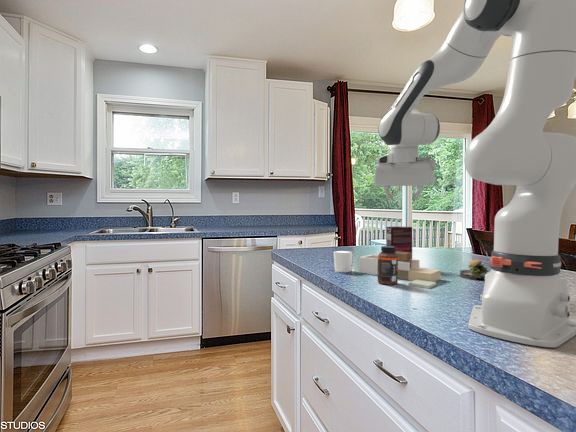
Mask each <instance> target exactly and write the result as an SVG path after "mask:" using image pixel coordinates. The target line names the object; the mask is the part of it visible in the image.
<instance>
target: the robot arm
mask: <svg viewBox="0 0 576 432" xmlns="http://www.w3.org/2000/svg"><path fill="white" fill-rule="evenodd" d="M462 8H463V9H462V12H461V13H460V15H459V16H458V17H457V19H456V20H455V21H454V24H453V25H452V27H451V29H450V31H449V32H448V34H447V36H446V37H445V40H444V41H443V43H442V45H441V46H440V47H439V49H438V50H437V51H436V52H435V53H434V54H432V56H431V57H429V59H426V61H424V62H422V63H421V64H420V65H419V66H418V67H417V68H416V70H415V71H414V72H413V74H412V75H411V77H410V78H409V79H408V81H407V82H406V84H405V86H404V88H403V89H402V90H401V92H400V94H399V95H398V96H397V98H396V100H395V101H394V102H393V104H392V105H391V107H390V108H389V109H388V110H387V112H385V114H383V116H382V118H380V121H379V123H378V126H377V127H378V129H377V131H378V135H379V138H380V139H381V140H382V141H383V143H385V144H386V145H387V146H391V147H390V152H389V153H387V154H384V155H382V156H380V157H378V158H377V159H376V164H377V166H376V167H375V168H374V169H375V170H374V178H373V183H374V185H375V186H376V187H377V186H378V187H383V190H384V192H385V194H386V200H393V199H394V194H393V193H391V191H390V190H391V186H392V187H403V186H404V187H410V186H411V187H412V186H413V187H416V190H417V192H415V194H412V196H413V197H412V200H415V201H420V197H421V196H420V195H421V194H422V192H423V191H424V187H428V186H429V187H430V186H434V185H435V183H436V173H435V168H436V160H435V159H434V158H433V157H431V156H425V157H423V156H422V157H421V156H420V157H419V146H427V145H428V146H429V145H431V144H433V143H434V142H435V141H436V140H437V139H438V138H439V135H440V132H441V124H440V121H439V118H438V117H437V116H436V115H434V114H431V113H426V112H421V111H419V109H417V108H416V106H417V105H418V103H419V102H420V100H421V99H422V98H423V97H424V96H425V95H426V94H427V93H429V92H431V91H433V90H435V89H438V88H440V87H441V88H442V87H446V86H449V85H454V84H458V83H461V82H464V81H466V80H468V79H470V78H472V76H474V74H475V73H477V71H478V70H479V69H480V68H481V66H482V65H483V63H484V62H485V60H486V58H487V57H488V55H489V53H490V52H491V50H492V48H493V46H494V45H495V43H496V42H497V41H498V39H499V38H500V37H501V36H505V37H512V47H511V52H510V59H509V64H508V65H509V66H508V71H507V78H506V84H505V89H504V94H503V98H502V101H501V103H500V107H499V109H498V111H497V113H496V115H495V117H494V118H493V119H492V121H491V122H490V124H489V125H488V126H487V127H486V128H485V129H484V130H483V131H482V132H480V133H479V134H477V135H476V136H475V137H474V138H472V140H471V141H470V142H469V144H468V145H467V148H466V149H465V153H464V159H463V161H464V162H463V163H464V166H465V169H466V172H467V173H468V175H469V176H470V178H471V179H474V180H475V181H479V182H482V183H486V184H490V185H495V186H516V187H515V188H516V189H515V192H514V194H513V196H512V199H511V200H510V202H509V203H508V204H507V205H505V206H504V207H502V208H500V209H499V210H498V211H497V213H496V214H495V216H494V223H493V224H494V231H493V249H492V251H491V253H490V254H491V255H490V258H489V260H490V261H489V268H490V271H488V272H489V273H487V274H486V275H485V279H484V285H483V291H482V293H481V294H480V295H479V297H478V300H479V301H480V302H481V305H473V307H472V309H471V312H470V317H469V320H468V322H467V323H468V325H467V328H468V329H470V330H472V331H473V332H476V333H480V334H482V335H485V336H489V337H493V338H496V339H500V340H501V339H502V340H505V341H510V342H512V343H513V342H514V343H517V344H518V343H519V344H523V345H528V346H529V345H530V346H535V347H536V346H537V347H542V348H552V349H553V348H558V347H560V346H561V345H562V344H564V343H566V342H567V341H569V340H570V339H572V338H573V337H575V336H576V322H574V321H571V319H570V318H571V317H570V310H571V309H570V308H571V305H570V303H571V302H570V298H571V297H570V285H569V284H568V283H567V282H565V280H563V278H561V276H560V273H561V266H562V261H561V255H560V254H559V239H560V238H559V237H560V225H561V216H562V213H563V209H564V207H565V203H566V201H567V199H568V197H569V195H570V193H571V192H572V190H573V188H574V187H575V186H576V136H573V135H570V134H567V133H563V132H547V131H543V130H544V127H545V125H546V123H547V121H548V120H549V118H550V116H551V115H552V113H553V112H554V111H556V110H558V109H559V108H561V107H563V106H564V105H565V104H567V102H569V100H570V99H571V97H572V95H573V91H574V85H575V80H576V0H464V2H463V7H462Z"/></svg>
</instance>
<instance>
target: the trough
mask: <svg viewBox="0 0 576 432" xmlns="http://www.w3.org/2000/svg"><path fill="white" fill-rule="evenodd" d="M358 260H359V261H358V269H359V270H358V273H359V274H365V273H366V274H367V275H373V276H378V254H369V255H368V254H367V255H362V256H359V259H358ZM441 271H442V270H440V269H434V268H426V267H420V259H414V258H412V259H411V268H410V263H407V262H399V261H398V278H399V279H398V280H404V281H409V282H411V281H414V280H423V281H429V282H436V283H437V282H438V281H440V280H441V279H442V276H441Z"/></svg>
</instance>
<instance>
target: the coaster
mask: <svg viewBox="0 0 576 432" xmlns="http://www.w3.org/2000/svg"><path fill="white" fill-rule="evenodd" d="M407 283H408V284H407V285H408V286H409V287H410V286H411V287H417V288H423V289H430V288H433V287H436V285H437V281H436V282H429V281H423V280H414V281H408V282H407Z"/></svg>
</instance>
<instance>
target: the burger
mask: <svg viewBox="0 0 576 432" xmlns="http://www.w3.org/2000/svg"><path fill="white" fill-rule="evenodd" d="M471 257H473V256H472V255H471ZM482 263H483V262H482V260H480V259H472V260H471V261H470V262H469V264H468V268H469V269H462V270H459V277H461V278H462V279H466V280H472V281H477V279H483V280H485V275H486V274H487V273H489V272H490V271H489V270H488V269H487V267H485V266H484V265H483V264H482Z"/></svg>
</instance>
